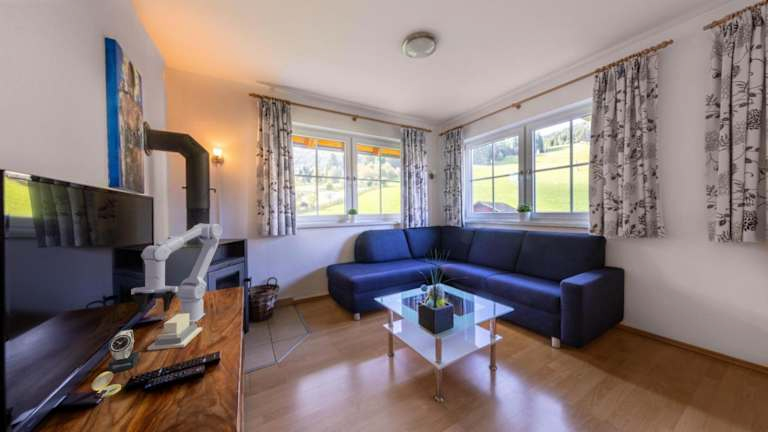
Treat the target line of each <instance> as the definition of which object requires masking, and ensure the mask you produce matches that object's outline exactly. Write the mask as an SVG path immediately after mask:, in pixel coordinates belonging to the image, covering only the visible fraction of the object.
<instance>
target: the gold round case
mask: <svg viewBox="0 0 768 432" xmlns="http://www.w3.org/2000/svg"><path fill="white" fill-rule="evenodd" d="M113 377H114V372H113V373H112V372H108V371H105V372H102V373H99V375H98V376H97V377H95V379H94V380H93V381H92V383H91V389H92V390H93V391H97V392H96V394H97V393H103V395H102V396H103V398H107V397H111V396H112V395H115V394H117V393H118V392H119V391H121V389H122V385H121V384H119V383H115V384H110V383H111V381H112V380H113ZM109 384H110V385H109Z"/></svg>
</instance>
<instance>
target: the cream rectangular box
mask: <svg viewBox="0 0 768 432" xmlns="http://www.w3.org/2000/svg"><path fill="white" fill-rule="evenodd" d="M188 326H189V313H185V314H180V313H177V314H175V315H174V316H173V317H171V318H170V319H168V320H167V321H165V322H164V323H163V333H164V334H174V333H178V335H179V334H180V333H181V332H182V331H184V330H185V329H186V328H187V327H188Z"/></svg>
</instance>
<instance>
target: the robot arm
mask: <svg viewBox="0 0 768 432" xmlns="http://www.w3.org/2000/svg"><path fill="white" fill-rule="evenodd" d="M222 234H223V229H222V227H221V225H220V224H218V223H202V222H201V223H198V224H196V225H194V226H193V227H192V228H190V229H189V230H187V231H185V232H183V233H182V234H180V235H169V236H168V237H167V238H166V239H164V240H162V241H158V242H156V244H155V245H148V246H146V247H145V248H144V249H143V250H142V253H140V257H141V258H142V259H143V261H144V264H145V266H144V267H145V271H144V272H145V273H144V275H145V276H144V277H145V278H144V279H145V281H144V285H145V286H141V287H134V288H131V290H130V291H131V292H130V294H131V295H132V300H134V302H135V303H136V304H137V306H138V309H139V312H140V313H141V314H143V313H145V312H146V311H147V306H148V305H147V304H148V303H147V302H148V301H147V300H148V296H149V294H159V293H160V294H161V293H163V294H161V297H162V298H161V299H162V301H163V312H167V311H169V310H170V307H171V304H172V301H173V299H174V297H175V296H176V298H177V299H179V301H180V304H179V305H180V306H179V307H180V308H179V309H180V313H179V314H185V313H189V320H194V323H197V322H199V320H201V319H202V317H204V316H205V315H206V314H207V313H206V312H204V310H205V309H204V303H205V301H204V299H203V297H204V296H205V293H206V287H207V285H208V284H207V282H206V281H205V280H204V279H205V277H206V273H207V272H208V269H209V267H210V265H211V262H212V260H213V257H214V255H215V253H216V250H217V249H218V246H219V243H220V242H219V241H220V240H221V236H222ZM196 238H198V239H199V241H201V242H202V243H203V246H202V248H201V251H200V252H199V255H198V258H197V260H196V262H195V264H194V266H193V268H192V271H191V272H190V274H189V276H188V277H186V278H185V279H183V280H182V281H181V284H180V285H179V286H178V285H166V260H168V258H169V256H170V254H172V253H174V252H176V251H178V250H179V249H181V248H183V246H184V243H186V242H188V241H191V240H193V239H196Z"/></svg>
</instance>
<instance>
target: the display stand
mask: <svg viewBox="0 0 768 432" xmlns="http://www.w3.org/2000/svg"><path fill="white" fill-rule="evenodd" d="M202 330H203V327H202V326H200V327H198V324H197V323H195V322H194V320H189V326H188V327H187V328H186V329H185V330H184V331H182V332H181V333H180V334H179V335H178V333H174V334H164V332H163V333H161V334H158V335H157V338H155V339H154V342H152V343H151V344H150V345H149V346H147V351H152V350H153V351H154V350H164V349H165V350H166V349H174V348H175V349H178V348H184V347H185V346H187V345H188V344H189V343H190V342H191V341H192V340H193V339H194V338H195V337H196V336H198V334H199V333H201V332H202Z"/></svg>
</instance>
